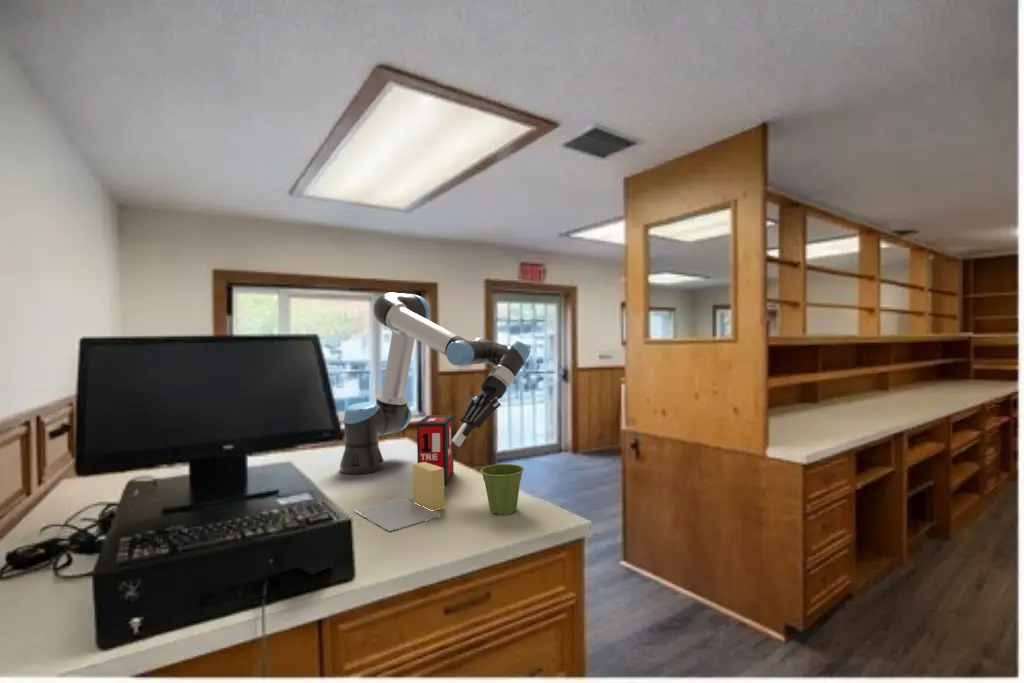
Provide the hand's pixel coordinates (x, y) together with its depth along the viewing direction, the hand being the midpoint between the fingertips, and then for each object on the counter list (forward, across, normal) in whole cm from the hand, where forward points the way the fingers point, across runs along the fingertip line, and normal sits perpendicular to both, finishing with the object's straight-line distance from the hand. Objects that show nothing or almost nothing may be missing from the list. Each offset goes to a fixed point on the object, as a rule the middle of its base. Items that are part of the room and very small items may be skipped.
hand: (455, 443), depth 145 cm
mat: (+25, 0, -3) cm, 25 cm away
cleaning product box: (+7, -20, +16) cm, 27 cm away
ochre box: (+18, 0, +4) cm, 19 cm away
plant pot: (+10, +18, +13) cm, 24 cm away
